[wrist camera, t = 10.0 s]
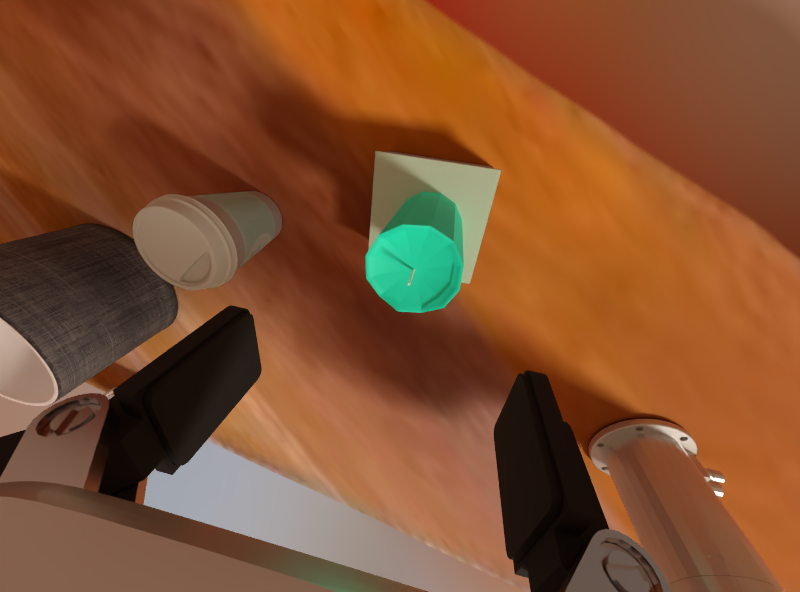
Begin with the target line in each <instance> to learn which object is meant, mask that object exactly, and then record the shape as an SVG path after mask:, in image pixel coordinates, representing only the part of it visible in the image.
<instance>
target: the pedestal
mask: <svg viewBox="0 0 800 592" xmlns="http://www.w3.org/2000/svg"><path fill="white" fill-rule="evenodd" d="M500 173H501V170H500V169H494V168H493V167H492V166H485V165H478V164H472V163H465V162H459V161H452V160H445V159H439V158H432V157H425V156H419V155H412V154H406V153H399V152H392V151H389V152H381V151H375V164H374V178H373V193H372V207H371V221H370V235H369V249H370V248H371V246H372V245H373V243H374V241H375V240H376V238H377V237H378V235H379V234H380V233H381V231H382V230H383V229H384V228H385V226H386V225H387V224H388V223H389V221H390V220H391V219H392V218H393V216H394V215H395V214H396V213H397V212H398V210H399V209H400V208H401V207H402V205H403V204H404V203H405V202H406V200H407V199H409V198H411V197H413V196H415V195H417V194H419V193H421V192H434V193H442V194H443V195H444V196H446V197H447V198H448V199H450V200H451V201H453V202H454V203H455V204H456V206H457V208H458V211H459V213H460V216H461V218H462V227H463V256H464V268H463V274H462V279H461V283H467V284H470V281H471V277H472V274H473V270H474V267H475V263H476V260H477V256H478V252H479V249H480V245H481V242H482V238H483V234H484V231H485V227H486V224H487V220H488V216H489V213H490V209H491V206H492V202H493V199H494V195H495V191H496V188H497V184H498V181H499V177H500ZM368 251H369V250H368Z"/></svg>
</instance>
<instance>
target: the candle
mask: <svg viewBox="0 0 800 592" xmlns="http://www.w3.org/2000/svg"><path fill="white" fill-rule="evenodd" d="M463 268H464V256H463V227H462V218H461V216H460V213H459V211H458V208H457V206H456V204H455V203H454V202H453V201H451V200H450V199H448V198H447V197H446V196H444V195H443V194H442V193H434V192H421V193H419V194H417V195H415V196H413V197H411V198H409V199H407V200H406V202H405V203H404V204H403V205H402V207H401V208H400V209H399V210H398V212H397V213H396V214H395V215H394V216H393V218H392V219H391V220H390V221H389V223H388V224H387V225H386V226H385V228H384V229H383V230H382V231H381V233H380V234H379V235H378V237H377V238H376V240H375V241H374V243H373V245H372V246H371V248H370V249H369V251H368V253H367V254H366V279H367V280H368V282H369V283H370V284H371V286H372V287H373V288H374V290H375V291H376V292H377V294H378V295H379V296H380V297H381V298H382V299H383V300H384V301H386V302H387V303H388V304H389V305H391V306H392V307H393V308H394V309H395V310H397V311H398V312H417V313H423V312H428V311H432V310H437V309H442V308H444V307H445V306H446V305H447V304H448V303H449V302H450V300H451V299H452V298H453V297H454V296H455V295H456V294H457V292H458V291H459V290H460V285H461V279H462V274H463Z"/></svg>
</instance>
